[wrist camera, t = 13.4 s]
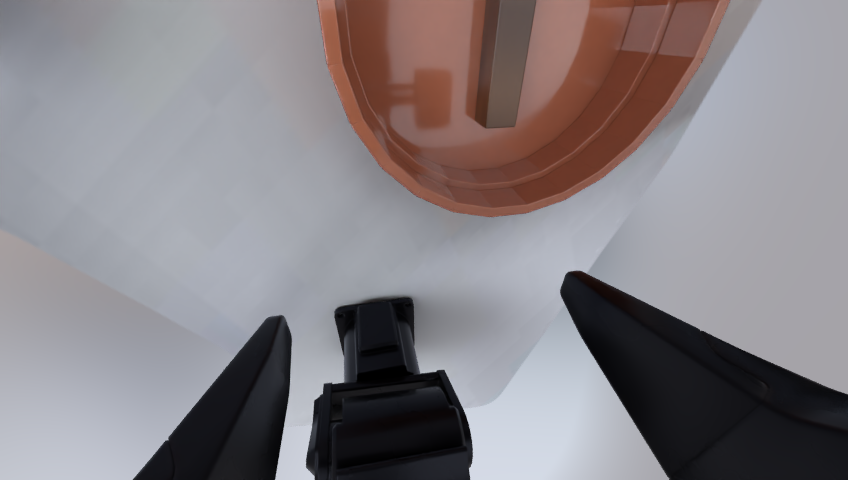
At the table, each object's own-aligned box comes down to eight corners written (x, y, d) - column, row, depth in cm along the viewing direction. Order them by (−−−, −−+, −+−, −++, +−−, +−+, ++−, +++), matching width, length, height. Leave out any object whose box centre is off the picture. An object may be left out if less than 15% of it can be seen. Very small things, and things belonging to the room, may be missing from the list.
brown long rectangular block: (502, 119, 19) (515, 127, 17) (474, 121, 18) (485, 129, 17) (532, -96, 13) (556, -110, 12) (494, -99, 13) (513, -114, 12)
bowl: (587, 170, 23) (640, 201, 19) (350, 190, 20) (352, 232, 16) (714, -220, 13) (881, -330, 9) (280, -297, 10) (237, -516, 6)
